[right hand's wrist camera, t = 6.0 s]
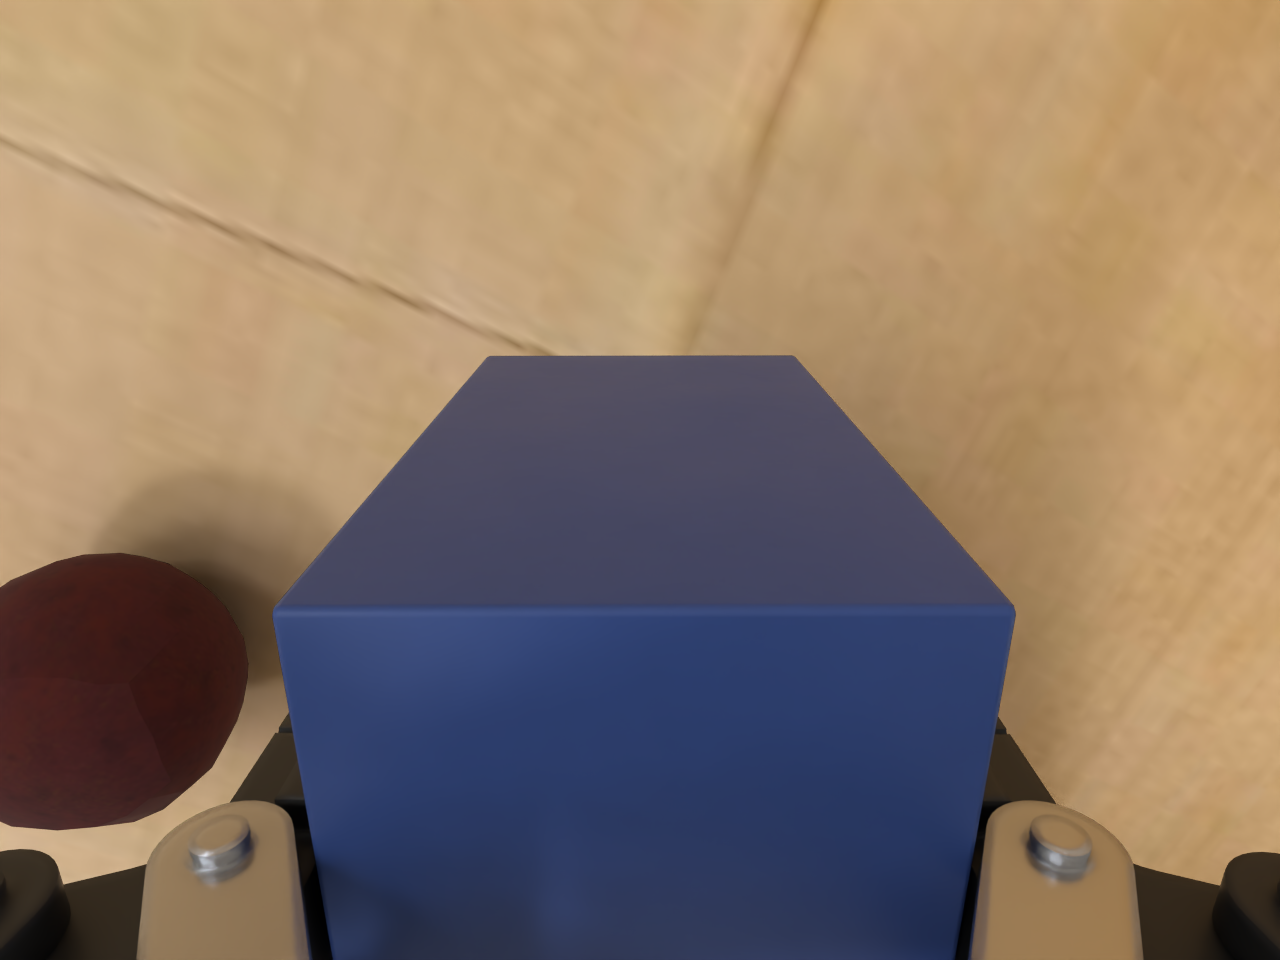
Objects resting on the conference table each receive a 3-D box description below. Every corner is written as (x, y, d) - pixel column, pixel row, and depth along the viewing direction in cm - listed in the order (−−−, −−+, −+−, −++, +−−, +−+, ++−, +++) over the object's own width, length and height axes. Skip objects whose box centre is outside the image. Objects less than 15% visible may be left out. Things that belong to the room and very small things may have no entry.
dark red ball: (309, 709, 27) (203, 878, 21) (85, 731, 28) (-90, 905, 21) (248, 505, 25) (104, 623, 18) (2, 533, 25) (-227, 658, 19)
